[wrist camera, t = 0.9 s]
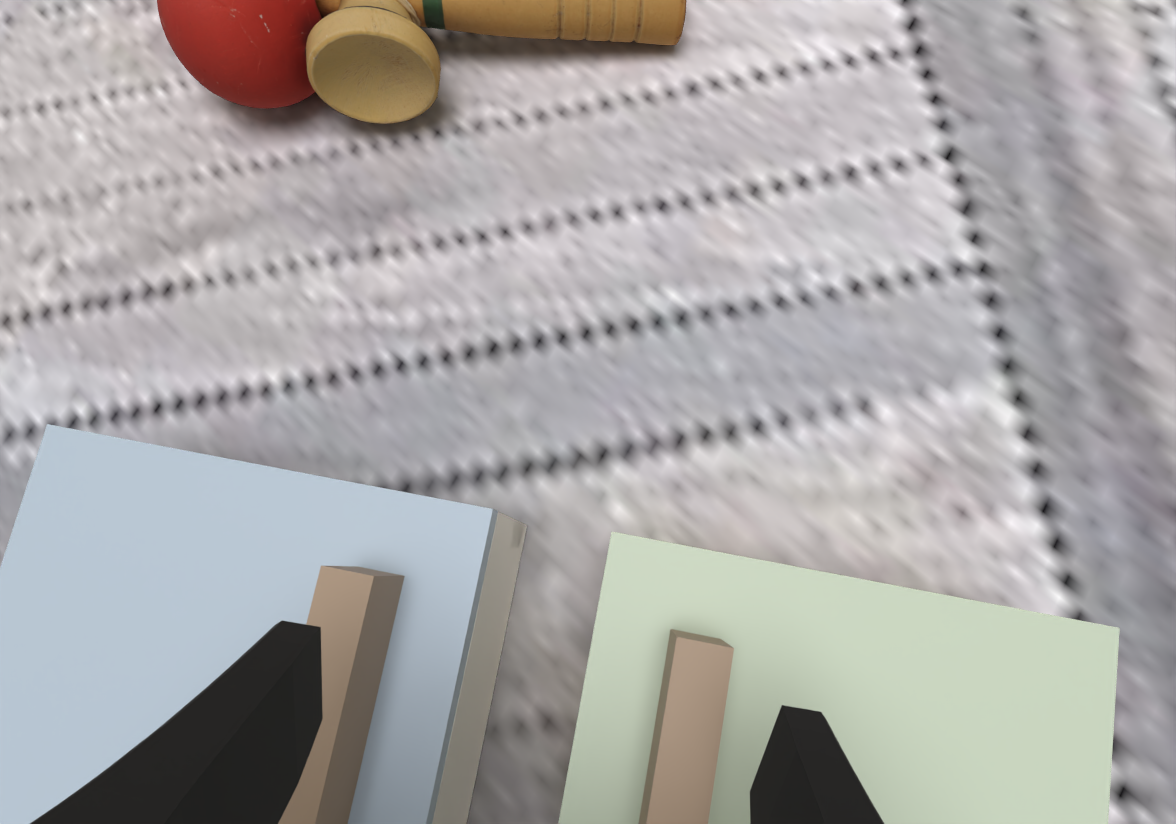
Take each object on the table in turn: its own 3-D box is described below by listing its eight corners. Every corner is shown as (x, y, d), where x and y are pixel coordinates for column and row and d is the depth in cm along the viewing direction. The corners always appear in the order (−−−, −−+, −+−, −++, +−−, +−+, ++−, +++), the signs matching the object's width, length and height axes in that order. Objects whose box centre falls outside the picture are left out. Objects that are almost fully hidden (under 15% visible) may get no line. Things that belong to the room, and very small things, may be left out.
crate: (447, 915, 24) (390, 1024, 18) (84, 828, 25) (-83, 906, 19) (527, 525, 26) (498, 511, 20) (190, 461, 27) (71, 430, 21)
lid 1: (389, 1027, 18) (339, 1122, 15) (-86, 908, 19) (-226, 973, 16) (497, 511, 20) (474, 500, 17) (68, 429, 21) (-28, 405, 18)
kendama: (651, -50, 32) (190, -44, 30) (687, -168, 26) (109, -170, 24) (666, 137, 32) (205, 155, 30) (706, 63, 26) (126, 81, 24)
